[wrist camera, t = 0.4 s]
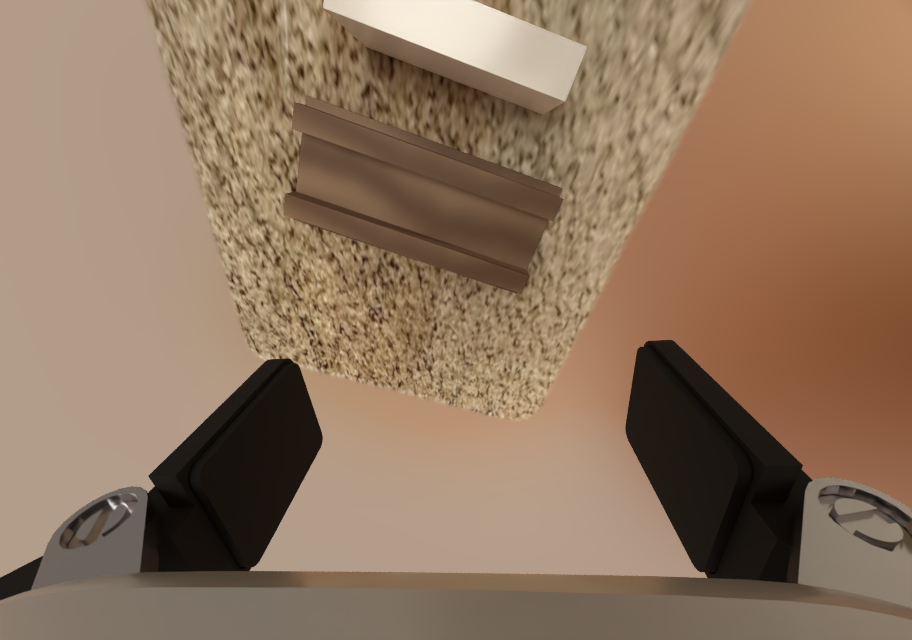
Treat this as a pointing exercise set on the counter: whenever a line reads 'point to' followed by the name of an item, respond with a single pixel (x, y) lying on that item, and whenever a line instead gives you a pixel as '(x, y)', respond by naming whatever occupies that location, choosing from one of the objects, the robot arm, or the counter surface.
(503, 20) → the white rectangular slab
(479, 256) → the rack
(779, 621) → the robot arm
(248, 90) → the counter surface
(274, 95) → the counter surface
